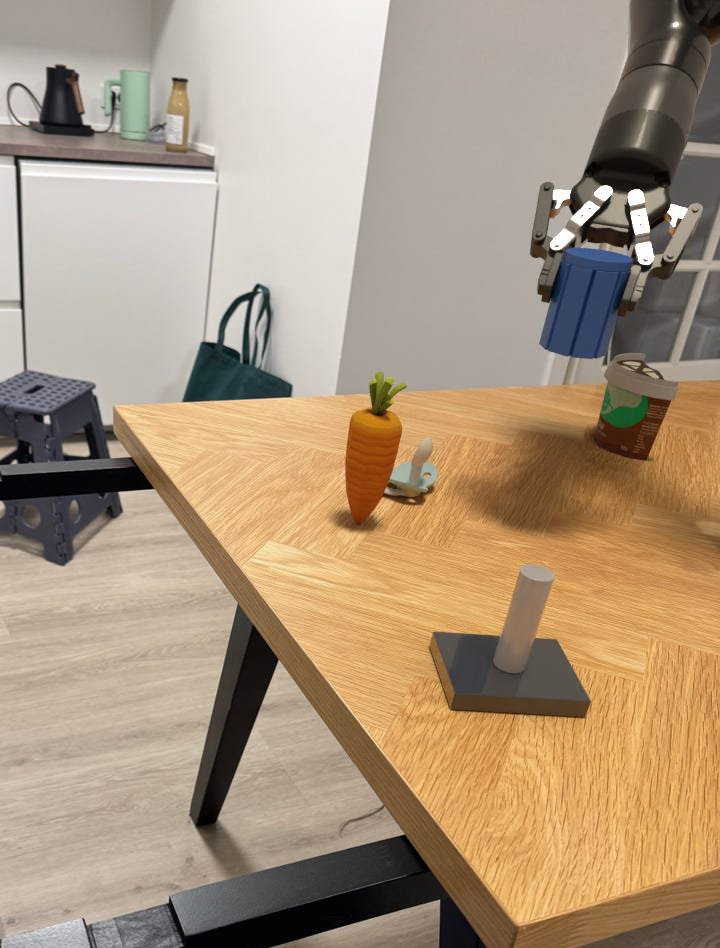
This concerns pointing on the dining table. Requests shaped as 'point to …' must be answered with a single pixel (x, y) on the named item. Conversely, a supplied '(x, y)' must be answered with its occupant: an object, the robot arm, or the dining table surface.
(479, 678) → the peg stand
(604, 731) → the dining table surface
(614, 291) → the cap
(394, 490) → the pacifier
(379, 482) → the carrot
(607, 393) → the food container
